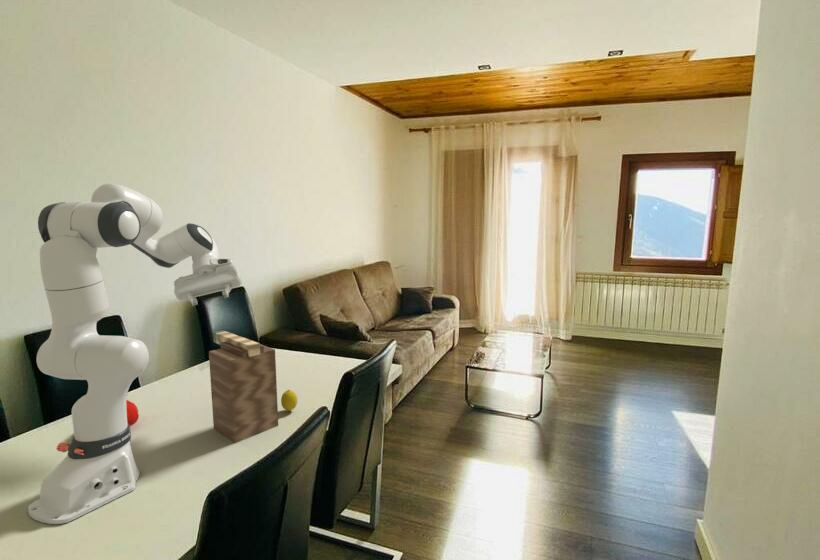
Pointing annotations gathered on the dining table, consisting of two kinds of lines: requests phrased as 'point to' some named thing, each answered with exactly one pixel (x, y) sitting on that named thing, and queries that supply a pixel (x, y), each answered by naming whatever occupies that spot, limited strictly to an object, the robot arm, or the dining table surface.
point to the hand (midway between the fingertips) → (210, 300)
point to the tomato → (131, 413)
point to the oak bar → (237, 342)
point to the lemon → (289, 400)
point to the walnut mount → (243, 391)
